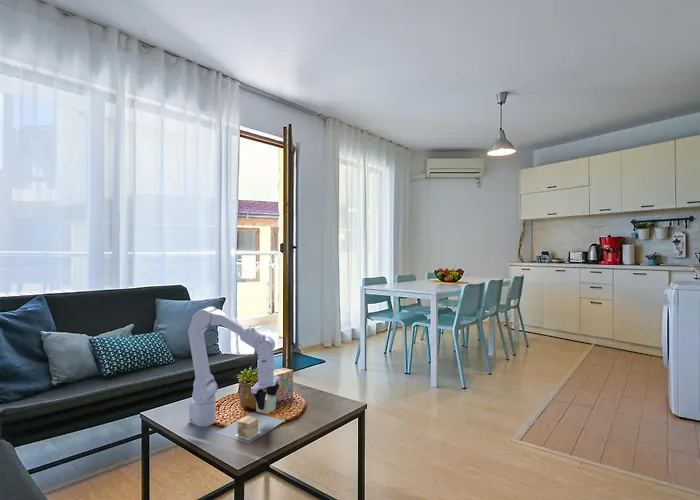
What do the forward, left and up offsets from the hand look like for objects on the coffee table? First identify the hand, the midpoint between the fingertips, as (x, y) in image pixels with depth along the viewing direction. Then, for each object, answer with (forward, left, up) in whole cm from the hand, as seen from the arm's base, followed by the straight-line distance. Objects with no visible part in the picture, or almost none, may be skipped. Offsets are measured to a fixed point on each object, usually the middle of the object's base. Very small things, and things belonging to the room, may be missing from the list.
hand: (266, 406), depth 150 cm
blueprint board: (-3, -5, -7) cm, 9 cm away
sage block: (0, 0, -1) cm, 1 cm away
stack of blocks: (-13, +18, -7) cm, 23 cm away
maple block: (0, -10, -6) cm, 12 cm away
